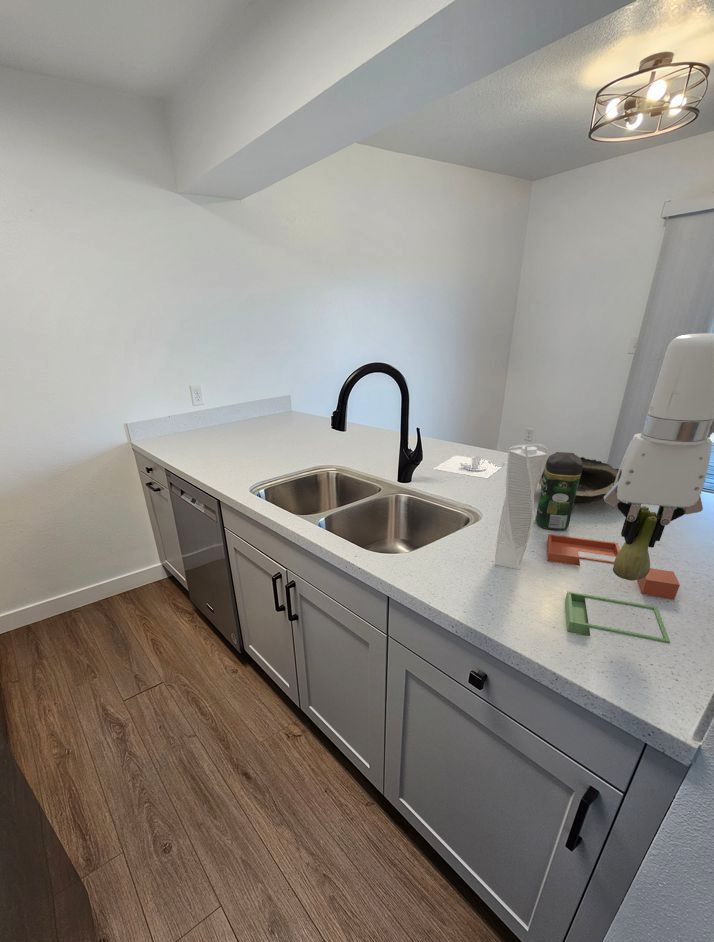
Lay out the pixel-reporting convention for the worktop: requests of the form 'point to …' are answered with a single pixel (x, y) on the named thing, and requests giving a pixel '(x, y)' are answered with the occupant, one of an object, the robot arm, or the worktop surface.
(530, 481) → the skyscraper
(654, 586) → the terracotta block
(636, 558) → the fennel bulb
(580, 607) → the green rectangular frame
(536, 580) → the worktop surface
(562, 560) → the terracotta tray
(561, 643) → the worktop surface
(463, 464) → the teacup and saucer
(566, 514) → the coffee jar
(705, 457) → the robot arm
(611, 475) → the stone bowl
